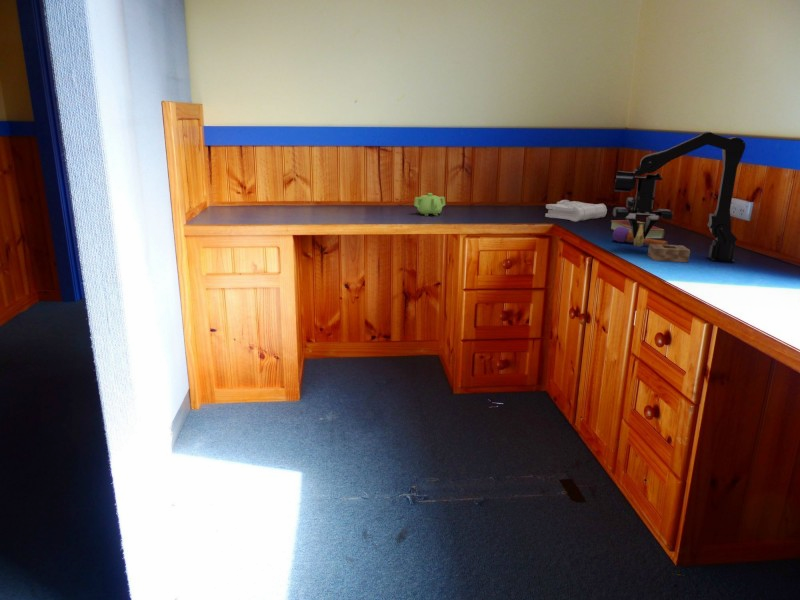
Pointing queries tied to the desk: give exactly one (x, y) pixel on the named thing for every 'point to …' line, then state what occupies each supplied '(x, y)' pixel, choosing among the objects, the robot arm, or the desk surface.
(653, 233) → the hardcover book
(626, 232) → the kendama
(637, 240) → the brass pin
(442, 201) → the teapot
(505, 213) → the desk surface
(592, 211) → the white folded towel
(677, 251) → the bore block
